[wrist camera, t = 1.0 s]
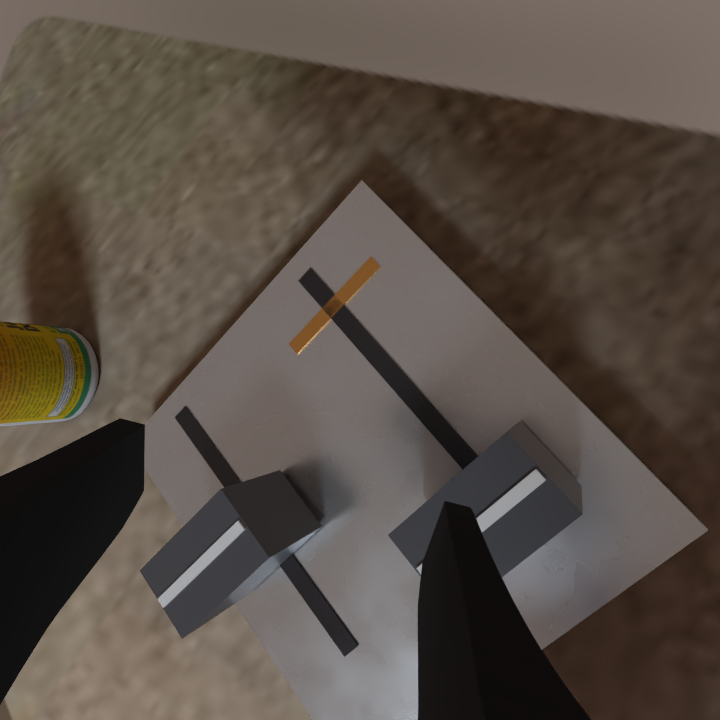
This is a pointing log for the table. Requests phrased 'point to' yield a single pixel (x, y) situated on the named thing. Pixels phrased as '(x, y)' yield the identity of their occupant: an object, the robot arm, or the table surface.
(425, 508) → the block
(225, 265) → the table surface
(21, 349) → the supplement bottle
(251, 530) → the far fader
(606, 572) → the fader panel
